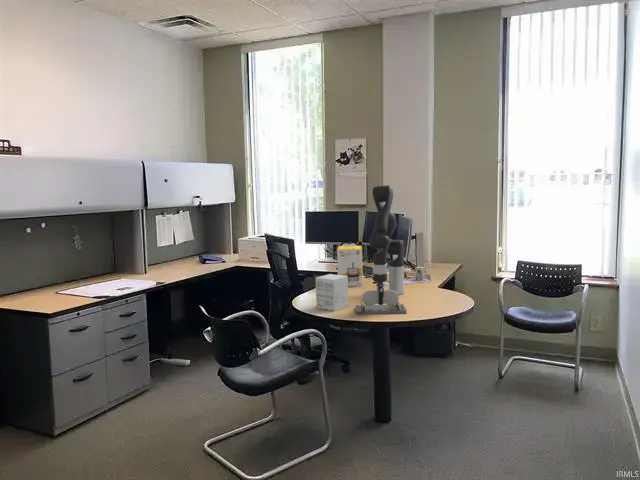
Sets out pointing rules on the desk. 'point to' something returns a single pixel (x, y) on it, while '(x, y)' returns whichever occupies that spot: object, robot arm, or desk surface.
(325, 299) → the supplement box
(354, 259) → the packaging box
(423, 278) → the monument
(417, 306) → the desk surface
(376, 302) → the grey piece
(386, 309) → the standoff plate
